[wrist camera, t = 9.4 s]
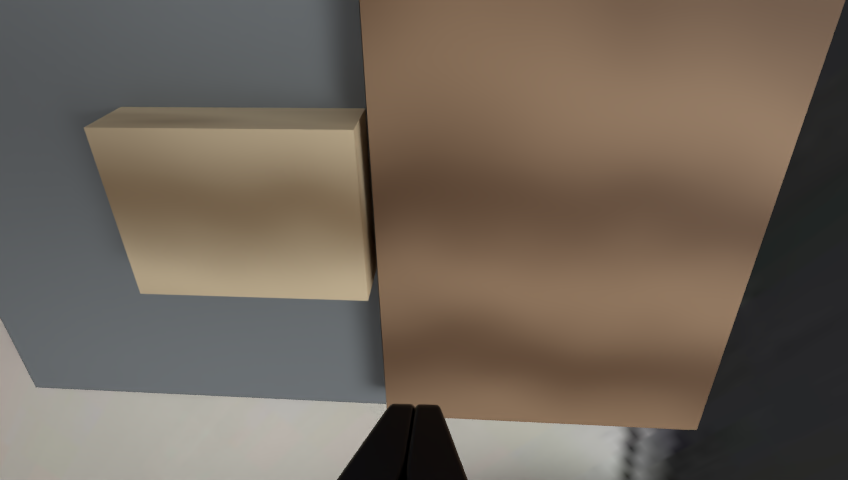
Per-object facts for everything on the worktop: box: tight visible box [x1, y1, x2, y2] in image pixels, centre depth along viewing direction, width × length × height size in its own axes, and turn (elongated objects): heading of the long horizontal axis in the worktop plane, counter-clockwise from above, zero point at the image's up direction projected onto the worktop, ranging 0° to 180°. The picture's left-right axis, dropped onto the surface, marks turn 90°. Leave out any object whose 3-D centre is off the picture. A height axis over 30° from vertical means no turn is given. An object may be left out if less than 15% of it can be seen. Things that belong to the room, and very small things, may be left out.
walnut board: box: [360, 0, 845, 430], centre depth 18 cm, size 18×12×2 cm, turn 1°
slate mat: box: [0, 0, 386, 404], centre depth 20 cm, size 20×16×1 cm
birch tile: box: [84, 107, 377, 301], centre depth 18 cm, size 6×8×2 cm
